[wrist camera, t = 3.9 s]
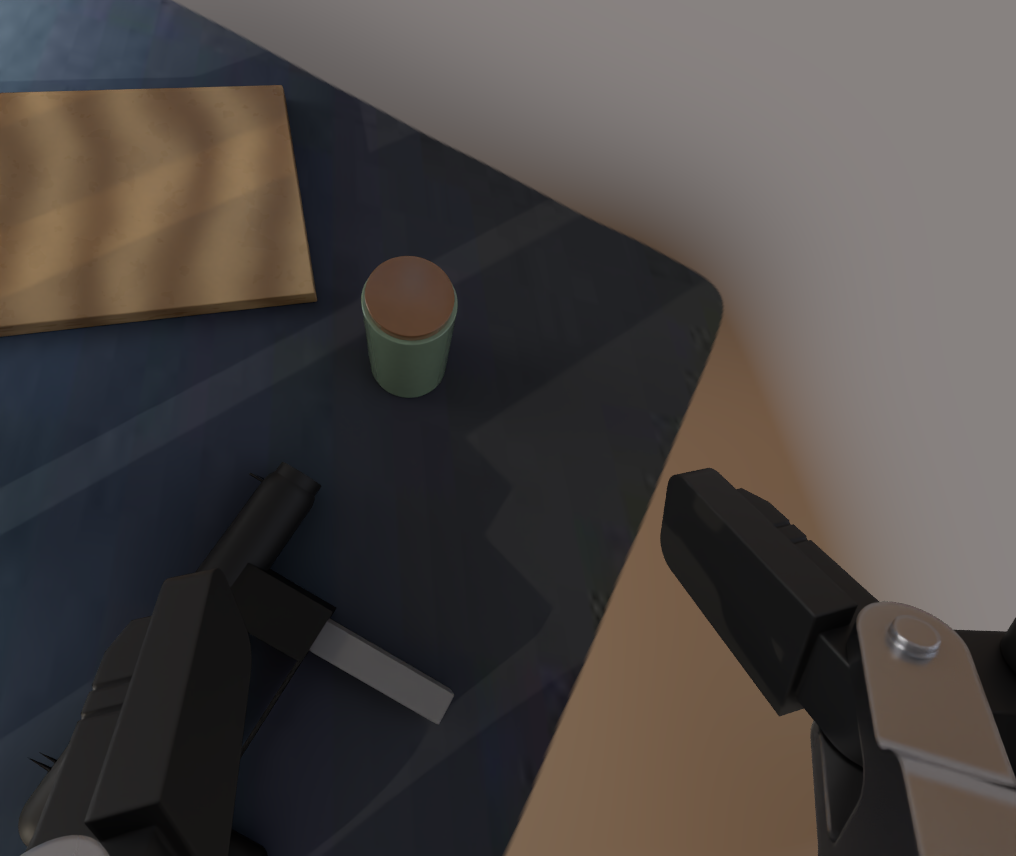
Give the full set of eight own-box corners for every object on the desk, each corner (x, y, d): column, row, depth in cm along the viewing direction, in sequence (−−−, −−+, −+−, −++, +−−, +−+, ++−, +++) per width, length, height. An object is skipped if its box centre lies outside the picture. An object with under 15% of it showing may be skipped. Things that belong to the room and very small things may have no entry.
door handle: (510, 596, 31) (257, 443, 30) (293, 1005, 25) (-38, 833, 24) (498, 593, 34) (268, 455, 33) (301, 956, 28) (9, 801, 27)
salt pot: (377, 403, 35) (368, 345, 27) (364, 333, 36) (353, 256, 28) (452, 391, 36) (467, 333, 28) (438, 324, 37) (448, 247, 29)
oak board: (-135, 352, 31) (-155, 343, 30) (-125, 112, 34) (-143, 96, 33) (317, 302, 36) (314, 292, 35) (285, 98, 40) (282, 84, 39)
